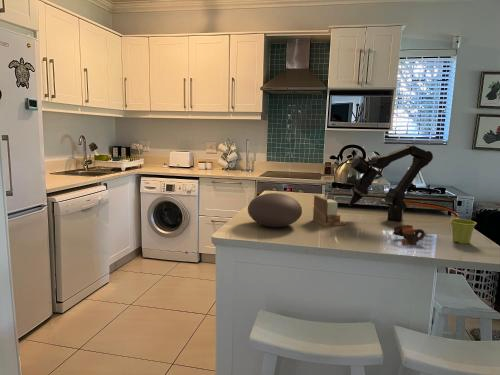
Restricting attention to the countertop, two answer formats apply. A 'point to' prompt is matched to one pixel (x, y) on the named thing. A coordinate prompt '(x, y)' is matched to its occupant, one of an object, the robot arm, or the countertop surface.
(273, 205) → the flattened ellipsoid
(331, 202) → the cream upright block
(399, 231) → the pottery mug
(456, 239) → the plant pot
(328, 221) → the walnut key housing
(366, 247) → the countertop surface
